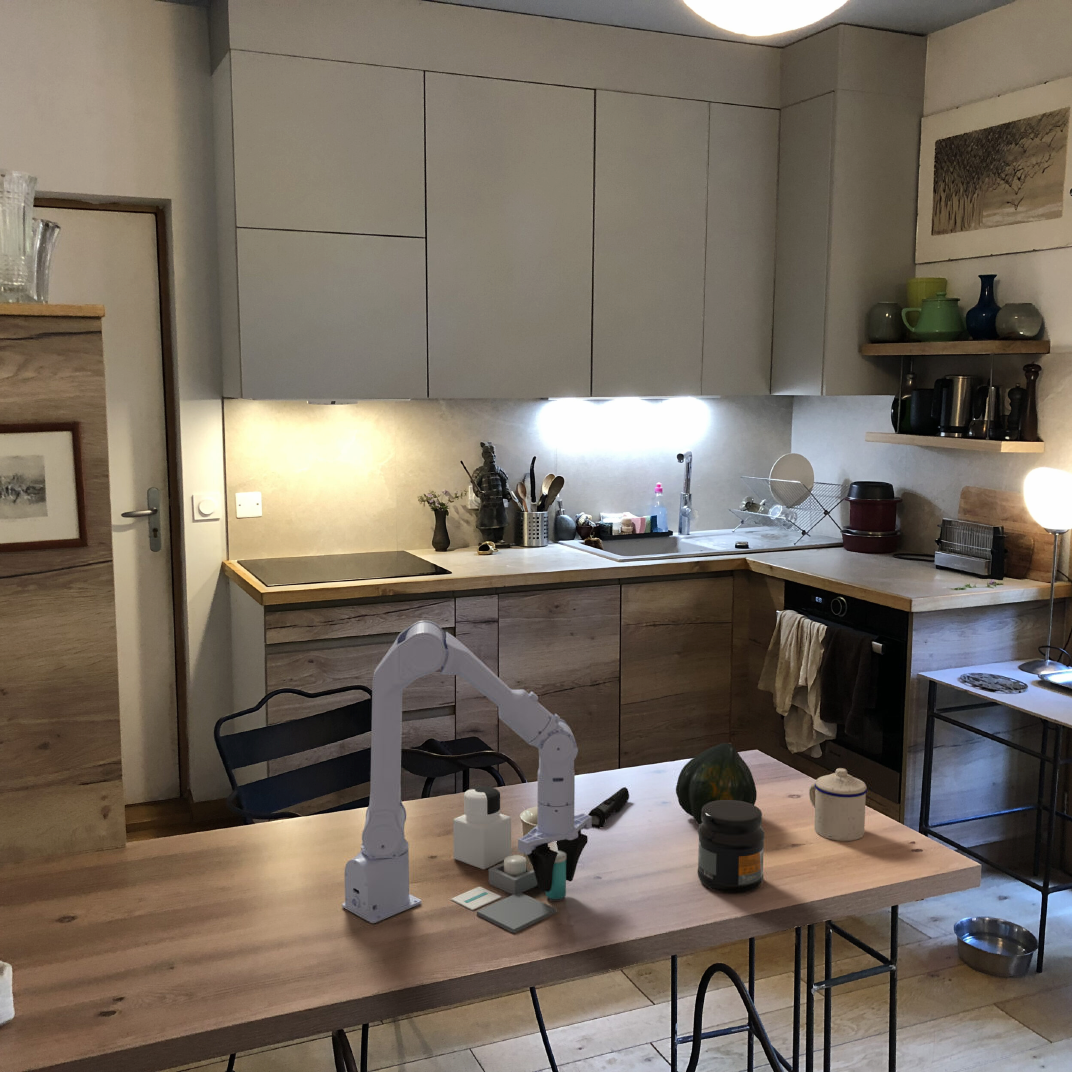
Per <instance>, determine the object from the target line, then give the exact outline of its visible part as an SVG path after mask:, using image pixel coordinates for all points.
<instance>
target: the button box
mask: <svg viewBox="0 0 1072 1072" xmlns="http://www.w3.org/2000/svg"><path fill="white" fill-rule="evenodd" d="M488 884H489V885H491V886H493V887H495V888H498V889H499V890H501V891H503V892H506V893H508V894H511V896H512V895H514V894H516V893H518V892H521V893H524V892H526V891H528V890H530V889H533V888H536V887H538V884H537V880H536V876H535V873H534V871H533V870H531V871H527V867H526V873H524V874H521V875H519V876H517V877H513V876H511V875H509V874H506V873H504V862H502V863H498V864H497V865H493V867H492V866H491V867H489V868H488Z"/></svg>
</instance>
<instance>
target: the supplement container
mask: <svg viewBox="0 0 1072 1072" xmlns="http://www.w3.org/2000/svg"><path fill="white" fill-rule="evenodd" d="M701 820H702V823H701V824H700V825H699V826H698V828H697V834H698V852H697V853H698V855H697V856H698V857H697V859H698V861H697V876H698V879H699V881H700V882H701V883H702V884H703V885H704V886H705V887H707V888H709V889H711V890H713V891H715V892H720V893H723V894H730V895H731V894H734V895H735V894H737V895H738V893H739V894H747V893H750V892H752V891H755V890H756V889H758V888H759V887H760V886H761V885H762V884H763V880H764V851H765V848H764V846H765V843H764V842H765V838H766V833H765V831H764V828H763V827H762V825H763V812H762V809H760V808H759V807H758V806H756V805H752V804H750V803H747V802H743V801H737V800H717V801H712V802H709V803H707V804H705V805H704V806H703V807H702V819H701Z"/></svg>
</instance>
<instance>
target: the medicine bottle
mask: <svg viewBox="0 0 1072 1072" xmlns="http://www.w3.org/2000/svg"><path fill="white" fill-rule="evenodd" d="M463 797H464V798H463V801H464V802H463V804H464V805H463V807H464V809H463V810H464V811H463V812H464V814H462V815H460V816H458V817H455V818H454V819H453V822H452V823H453V827H452V829H453V832H452V833H453V859H454V860H457V861H459V862H462V863H464V864H467V865H470V866H473V867H476V868H478V869H480V870H486V869H489V868H492V866H493V867H494V866H496V864H497V865H498V864H500V862H504V858H506V857H507V856H511V855H512V817H511V816H510V815H509V816H508V815H506V814H503V813H501V792H500V791H499V790H498V789H497V788H495V787H492V786H489V785H477V786H473V787H470V788H468V789H467V790H466V791H465V792H464V794H463Z"/></svg>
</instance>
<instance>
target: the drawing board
mask: <svg viewBox="0 0 1072 1072" xmlns="http://www.w3.org/2000/svg"><path fill="white" fill-rule="evenodd" d="M556 913H557V908H555V907H553V906H551V905H549V904H547V903H545V902H542V901H541V900H539V899H535V898H533V897H532V896H529V895H527V894H525V893H524V892H522V893H521V892H518V893H516V894H514V895H512V894H511V895H509V896H508V897H506V898H502V899H501V900H499V901H496V902H494V903H491V904H489V905H487V906H485V907H483V908H479V909H478V910H476V916H478V917H479V918H483V920H486V921H488V922H490V923H493V924H494V925H496V926H498V927H501V928H502V929H504V930H506V931H509V932H511V933H512V934H515V933H517V932H520V931H521V930H524V929H526V928H528V927H529V926H532V925H534V924H536V923H538V922H540V921H542V920H544V919H546V918H548V917H550V916H552V915H554V914H556Z"/></svg>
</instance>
